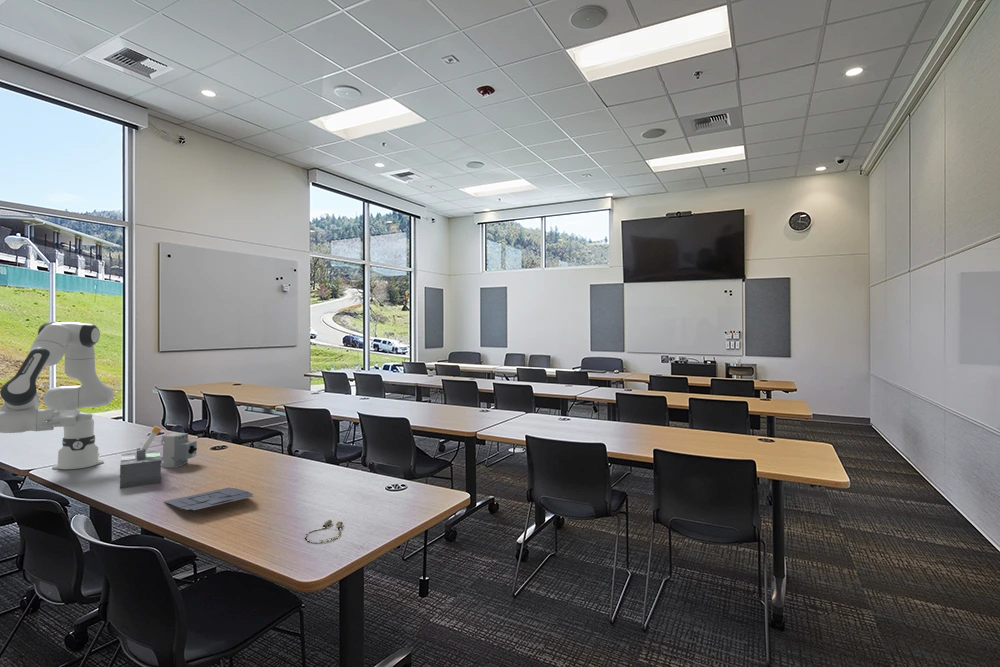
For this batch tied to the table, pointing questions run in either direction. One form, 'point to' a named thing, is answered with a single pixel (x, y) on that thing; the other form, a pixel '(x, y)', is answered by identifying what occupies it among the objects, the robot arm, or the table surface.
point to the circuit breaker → (177, 449)
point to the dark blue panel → (210, 498)
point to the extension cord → (339, 524)
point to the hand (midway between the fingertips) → (92, 416)
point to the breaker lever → (151, 437)
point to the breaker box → (140, 468)
